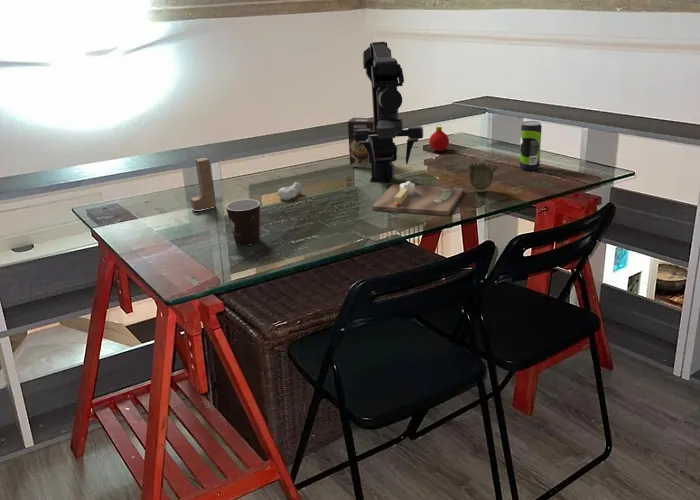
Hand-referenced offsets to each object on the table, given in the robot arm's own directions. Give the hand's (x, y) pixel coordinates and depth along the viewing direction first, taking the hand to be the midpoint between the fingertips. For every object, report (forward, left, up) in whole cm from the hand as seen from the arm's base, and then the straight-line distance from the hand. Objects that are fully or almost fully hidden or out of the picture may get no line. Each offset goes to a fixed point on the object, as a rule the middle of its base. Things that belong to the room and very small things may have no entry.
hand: (390, 164), depth 188 cm
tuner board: (+6, +6, -12) cm, 15 cm away
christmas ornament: (-1, +60, -13) cm, 61 cm away
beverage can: (+33, +43, -13) cm, 56 cm away
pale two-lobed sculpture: (-33, +2, -13) cm, 35 cm away
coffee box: (-22, +38, -13) cm, 45 cm away
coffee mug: (-29, -34, -13) cm, 46 cm away
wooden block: (-55, -13, -13) cm, 58 cm away
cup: (+22, +17, -13) cm, 31 cm away
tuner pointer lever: (+2, +3, -11) cm, 12 cm away
